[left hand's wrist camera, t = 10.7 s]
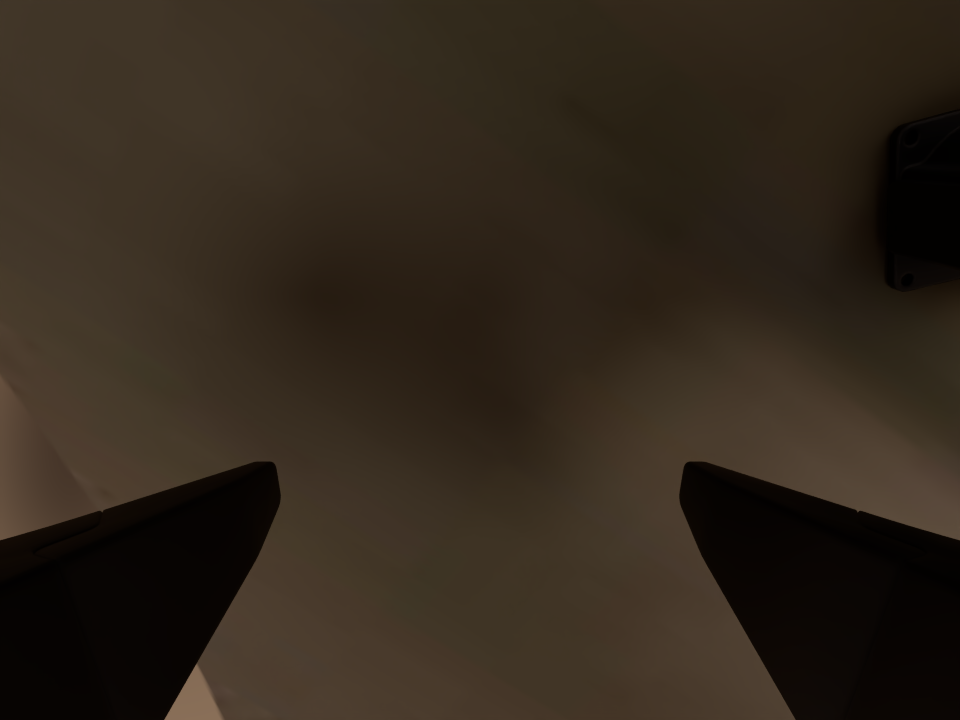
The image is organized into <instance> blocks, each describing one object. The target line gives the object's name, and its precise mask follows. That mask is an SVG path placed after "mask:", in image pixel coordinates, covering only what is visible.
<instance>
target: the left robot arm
mask: <svg viewBox="0 0 960 720" xmlns="http://www.w3.org/2000/svg"><path fill="white" fill-rule="evenodd" d="M908 132H910V134H911V138H910V140H909V142H908V143H907V144H906V143H905V136H906V135H907V133H908ZM887 249H888V284H889V286H890V287H891V288H893V289H896V290H899V291H902V292H903V291H910V290H914V289H918V288H923V287H927V286H931V285H935V284H939V283H943V282H947V281H952V280H956V279H960V109H957V110H954V111H950V112H946V113H943V114H939V115H935V116H932V117H928V118H924V119H920V120H917V121H913V122H909V123H906V124H903V125H901V126H899V127H898V128H897V129H895V130H894V132H893V134H892V135H891V139H890V169H889V188H888V195H887ZM904 275H907V277H906V279H905V280H904V282H902V283H901V279H902V277H903V276H904ZM280 499H281V494H280V487H279V481H278V475H277V469H276V466H275V464H274V463H273V462H253V463H250V464H247V465H244V466H240V467H237V468H234V469H231V470H228V471H225V472H222V473H218V474H215V475H212V476H209V477H206V478H203V479H200V480H196V481H193V482H190V483H187V484H184V485H181V486H178V487H174V488H171V489H168V490H165V491H162V492H159V493H156V494H152V495H149V496H146V497H143V498H140V499H137V500H134V501H131V502H127V503H124V504H121V505H118V506H115V507H112V508H109V509H105V510H104V511H103V512H101V511H97V512H94V513H91V514H87V515H84V516H81V517H78V518H75V519H72V520H68V521H65V522H62V523H58V524H55V525H52V526H49V527H45V528H42V529H38V530H35V531H31V532H28V533H25V534H21V535H18V536H14V537H11V538H7V539H4V540H0V720H164V719H165V717H166V716H167V714H168V712H169V711H170V709H171V707H172V705H173V703H174V702H175V700H176V698H177V697H178V695H179V693H180V691H181V690H182V688H183V686H184V684H185V683H186V681H187V679H188V677H189V676H190V674H191V672H192V671H193V669H194V667H195V665H196V664H197V662H198V660H199V658H200V657H201V655H202V653H203V651H204V650H205V648H206V646H207V644H208V643H209V641H210V639H211V637H212V636H213V634H214V632H215V630H216V629H217V627H218V625H219V624H220V622H221V620H222V618H223V617H224V615H225V613H226V611H227V610H228V608H229V606H230V604H231V603H232V601H233V599H234V597H235V596H236V594H237V592H238V590H239V589H240V587H241V585H242V584H243V582H244V580H245V578H246V577H247V575H248V573H249V571H250V570H251V568H252V566H253V564H254V563H255V561H256V559H257V557H258V555H259V553H260V551H261V548H262V546H263V544H264V541H265V539H266V536H267V534H268V532H269V529H270V527H271V524H272V522H273V520H274V517H275V515H276V512H277V510H278V508H279V505H280ZM679 499H680V505H681V508H682V510H683V512H684V515H685V517H686V520H687V522H688V524H689V527H690V529H691V532H692V534H693V536H694V539H695V541H696V544H697V546H698V548H699V551H700V553H701V555H702V557H703V559H704V561H705V563H706V564H707V566H708V568H709V570H710V571H711V573H712V575H713V577H714V578H715V580H716V582H717V584H718V585H719V587H720V589H721V590H722V592H723V594H724V596H725V597H726V599H727V601H728V603H729V604H730V606H731V608H732V610H733V611H734V613H735V615H736V617H737V618H738V620H739V622H740V624H741V625H742V627H743V629H744V631H745V632H746V634H747V636H748V637H749V639H750V641H751V643H752V644H753V646H754V648H755V650H756V651H757V653H758V655H759V657H760V658H761V660H762V662H763V664H764V665H765V667H766V669H767V671H768V672H769V674H770V676H771V677H772V679H773V681H774V683H775V684H776V686H777V688H778V690H779V691H780V693H781V695H782V697H783V698H784V700H785V702H786V704H787V705H788V707H789V709H790V711H791V712H792V714H793V716H794V717H795V719H796V720H960V540H956V539H953V538H949V537H946V536H942V535H939V534H935V533H932V532H929V531H925V530H922V529H918V528H915V527H911V526H908V525H905V524H902V523H898V522H895V521H892V520H889V519H885V518H882V517H879V516H876V515H873V514H869V513H866V512H863V511H859V512H857V511H856V510H855V509H851V508H848V507H845V506H842V505H839V504H836V503H833V502H829V501H826V500H823V499H820V498H817V497H814V496H811V495H808V494H804V493H801V492H798V491H795V490H792V489H789V488H786V487H782V486H779V485H776V484H773V483H770V482H767V481H764V480H760V479H757V478H754V477H751V476H748V475H745V474H742V473H738V472H735V471H732V470H729V469H726V468H723V467H720V466H716V465H713V464H710V463H707V462H687V463H686V464H685V466H684V469H683V475H682V481H681V487H680V494H679Z"/></svg>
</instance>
